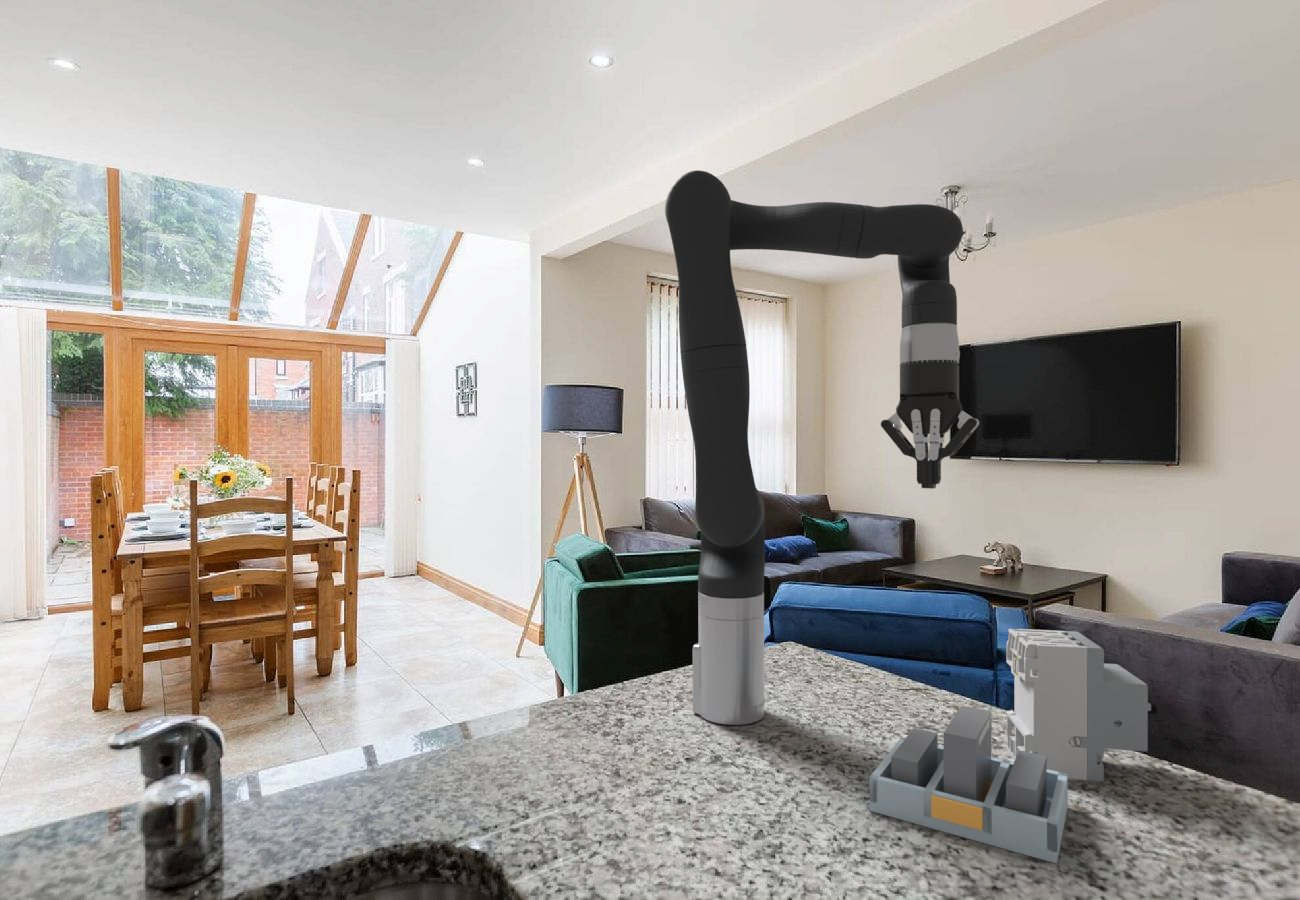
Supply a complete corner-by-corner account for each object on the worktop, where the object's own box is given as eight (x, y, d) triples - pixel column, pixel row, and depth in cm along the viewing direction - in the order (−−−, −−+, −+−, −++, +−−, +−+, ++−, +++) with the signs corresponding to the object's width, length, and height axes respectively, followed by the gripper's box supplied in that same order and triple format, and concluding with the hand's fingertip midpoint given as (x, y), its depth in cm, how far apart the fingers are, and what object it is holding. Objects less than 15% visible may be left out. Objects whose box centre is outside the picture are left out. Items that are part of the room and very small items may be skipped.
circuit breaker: (1164, 786, 80) (1164, 651, 80) (1024, 775, 83) (1025, 644, 83) (1133, 757, 87) (1133, 634, 87) (1006, 748, 90) (1006, 628, 90)
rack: (868, 811, 75) (868, 759, 75) (901, 766, 85) (901, 720, 85) (1056, 865, 65) (1056, 804, 65) (1067, 807, 75) (1067, 754, 75)
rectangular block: (943, 812, 72) (943, 732, 72) (961, 777, 80) (961, 705, 80) (976, 820, 71) (976, 739, 71) (991, 784, 78) (991, 710, 78)
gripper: (871, 361, 99) (871, 488, 99) (976, 354, 91) (976, 491, 91) (887, 366, 105) (887, 485, 105) (986, 359, 97) (986, 488, 98)
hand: (929, 487), depth 98 cm, fingers closed
